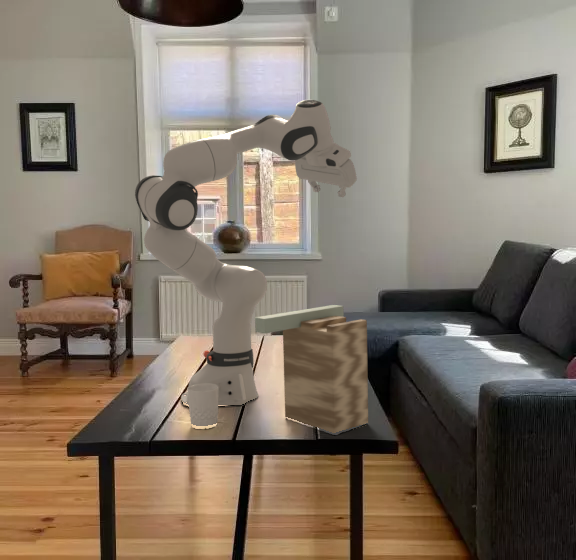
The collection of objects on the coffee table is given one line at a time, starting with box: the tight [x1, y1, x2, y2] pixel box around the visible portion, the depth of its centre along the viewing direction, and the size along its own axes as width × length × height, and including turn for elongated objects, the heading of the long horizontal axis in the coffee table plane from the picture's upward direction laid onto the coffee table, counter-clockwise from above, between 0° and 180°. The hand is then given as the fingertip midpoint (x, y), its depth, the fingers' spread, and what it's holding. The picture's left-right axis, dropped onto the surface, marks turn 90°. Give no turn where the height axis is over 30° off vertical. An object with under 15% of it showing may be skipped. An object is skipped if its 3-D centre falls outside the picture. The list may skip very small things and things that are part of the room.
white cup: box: [186, 383, 219, 426], centre depth 157 cm, size 8×8×10 cm
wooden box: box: [282, 316, 369, 433], centre depth 157 cm, size 12×18×26 cm, turn 41°
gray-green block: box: [254, 304, 345, 334], centre depth 157 cm, size 27×4×4 cm, turn 131°
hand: (329, 193), depth 188 cm, fingers open, 8 cm apart
